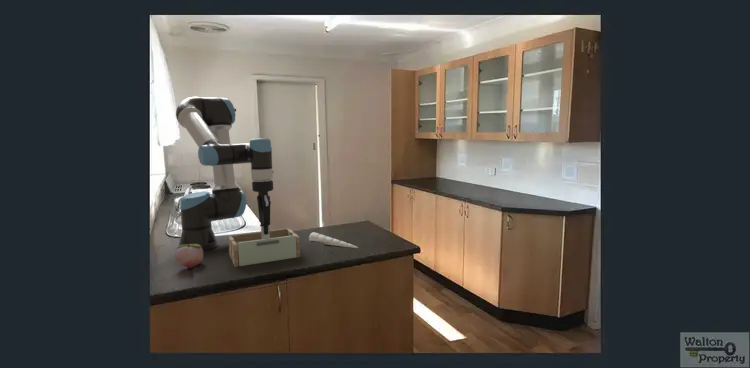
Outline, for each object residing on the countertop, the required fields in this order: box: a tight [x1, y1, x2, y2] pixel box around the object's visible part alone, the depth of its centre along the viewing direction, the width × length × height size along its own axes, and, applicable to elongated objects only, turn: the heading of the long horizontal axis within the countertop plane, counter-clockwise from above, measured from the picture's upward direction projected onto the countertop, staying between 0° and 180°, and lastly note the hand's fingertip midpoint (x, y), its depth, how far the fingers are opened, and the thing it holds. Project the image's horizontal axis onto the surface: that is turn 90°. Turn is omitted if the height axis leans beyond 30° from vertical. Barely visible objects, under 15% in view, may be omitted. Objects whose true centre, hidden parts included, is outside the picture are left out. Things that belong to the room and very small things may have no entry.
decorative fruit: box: [175, 242, 204, 269], centre depth 150 cm, size 9×8×10 cm
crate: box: [227, 227, 301, 268], centre depth 160 cm, size 16×24×9 cm, turn 116°
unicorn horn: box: [308, 231, 359, 249], centre depth 177 cm, size 5×24×5 cm, turn 60°
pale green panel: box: [238, 235, 298, 267], centre depth 153 cm, size 2×21×8 cm, turn 116°
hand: (265, 242), depth 156 cm, fingers closed
